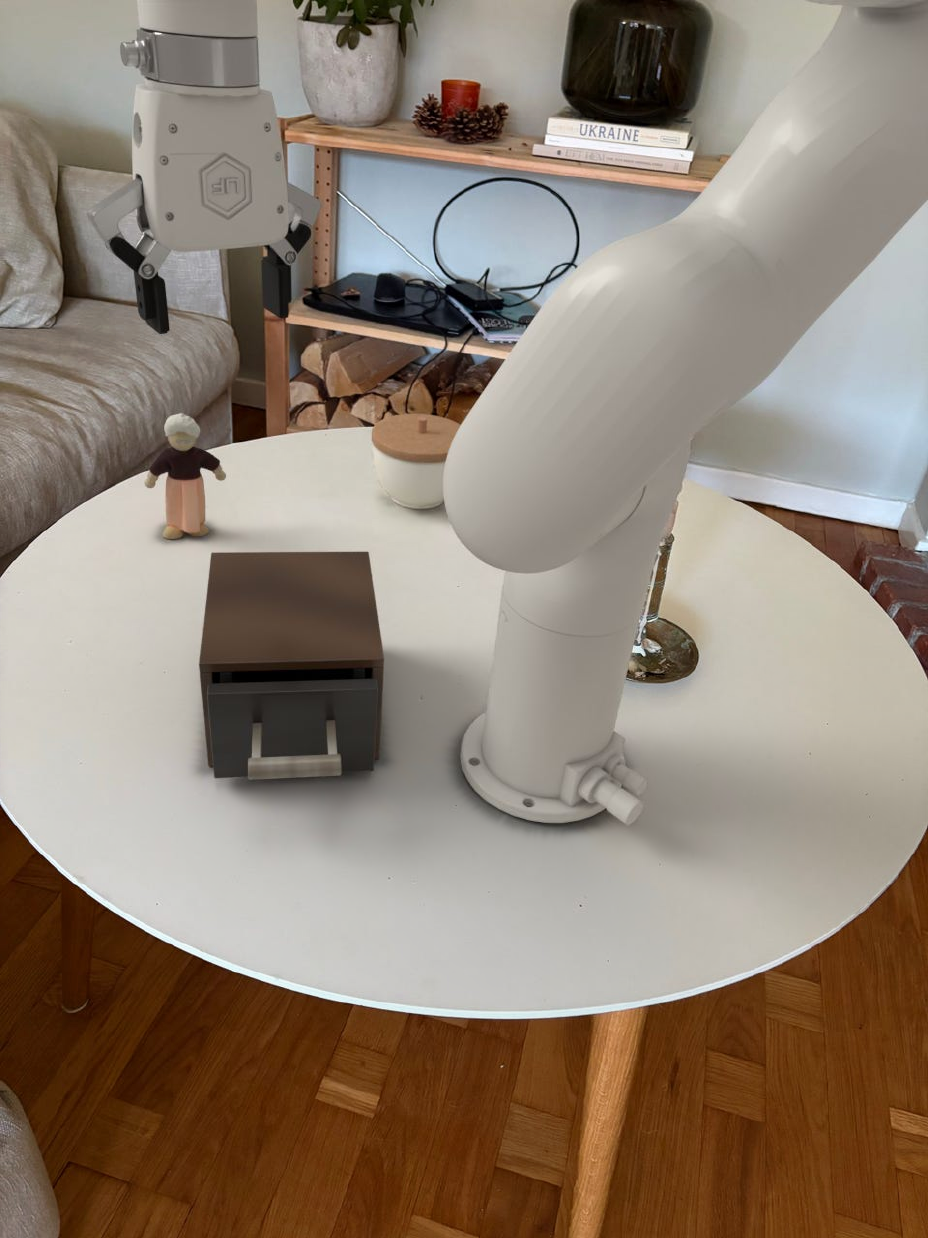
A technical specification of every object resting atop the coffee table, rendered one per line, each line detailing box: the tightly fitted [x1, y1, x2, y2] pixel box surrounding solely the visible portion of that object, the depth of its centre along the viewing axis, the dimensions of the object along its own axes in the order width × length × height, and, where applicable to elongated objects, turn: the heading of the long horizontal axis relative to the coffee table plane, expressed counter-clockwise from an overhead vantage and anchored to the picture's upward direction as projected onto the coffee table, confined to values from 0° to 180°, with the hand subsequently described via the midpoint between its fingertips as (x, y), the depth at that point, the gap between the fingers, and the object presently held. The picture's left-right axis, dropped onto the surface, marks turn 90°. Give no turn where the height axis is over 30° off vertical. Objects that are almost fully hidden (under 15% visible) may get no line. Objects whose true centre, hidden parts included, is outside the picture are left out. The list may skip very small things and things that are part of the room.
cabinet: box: [198, 551, 385, 767], centre depth 75 cm, size 15×13×10 cm
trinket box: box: [371, 413, 461, 510], centre depth 105 cm, size 11×11×9 cm
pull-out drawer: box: [207, 668, 378, 781], centre depth 70 cm, size 18×11×8 cm, turn 9°
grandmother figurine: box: [144, 412, 227, 540], centre depth 94 cm, size 8×4×13 cm, turn 122°
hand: (218, 320), depth 73 cm, fingers open, 9 cm apart
